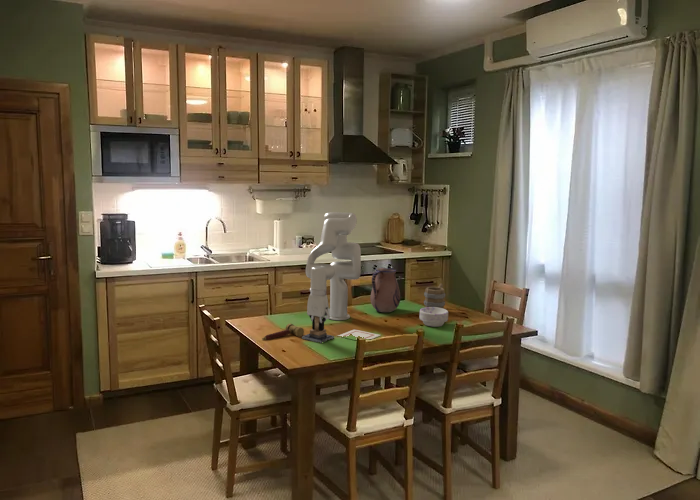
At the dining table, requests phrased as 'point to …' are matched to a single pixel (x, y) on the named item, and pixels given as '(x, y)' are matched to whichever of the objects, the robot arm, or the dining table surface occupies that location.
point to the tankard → (434, 297)
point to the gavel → (286, 332)
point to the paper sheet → (360, 334)
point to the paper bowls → (433, 316)
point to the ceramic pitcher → (385, 290)
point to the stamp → (317, 329)
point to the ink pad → (317, 338)
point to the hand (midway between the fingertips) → (318, 329)
